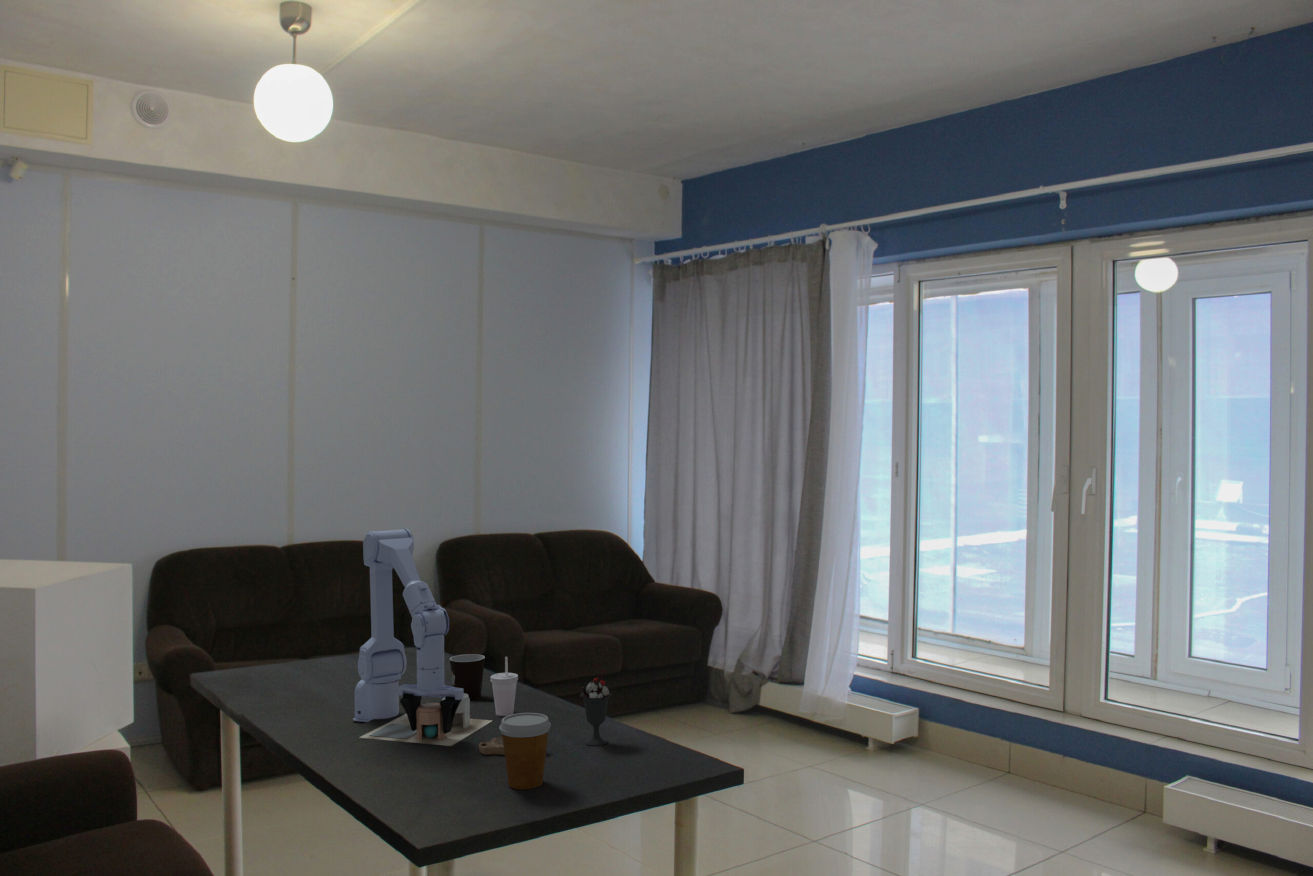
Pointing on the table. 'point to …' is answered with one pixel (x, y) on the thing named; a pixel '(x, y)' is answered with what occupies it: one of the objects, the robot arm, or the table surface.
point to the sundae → (596, 708)
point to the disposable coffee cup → (525, 748)
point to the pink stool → (429, 719)
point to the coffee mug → (468, 674)
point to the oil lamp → (492, 747)
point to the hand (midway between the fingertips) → (431, 730)
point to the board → (403, 733)
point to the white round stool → (463, 712)
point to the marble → (431, 730)
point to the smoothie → (504, 691)
